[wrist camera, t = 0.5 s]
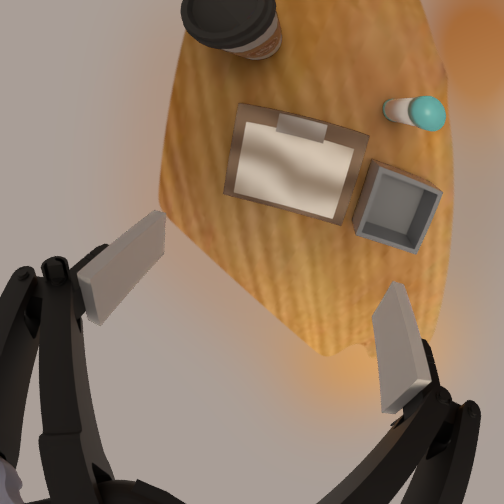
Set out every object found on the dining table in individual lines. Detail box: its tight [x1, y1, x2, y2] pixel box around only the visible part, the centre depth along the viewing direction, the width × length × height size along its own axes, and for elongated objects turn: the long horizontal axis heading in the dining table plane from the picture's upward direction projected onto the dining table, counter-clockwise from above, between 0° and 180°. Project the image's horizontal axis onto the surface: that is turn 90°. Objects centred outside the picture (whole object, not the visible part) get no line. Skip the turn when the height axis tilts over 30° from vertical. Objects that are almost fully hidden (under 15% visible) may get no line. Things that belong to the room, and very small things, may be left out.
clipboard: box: [223, 103, 369, 226], centre depth 35 cm, size 13×17×2 cm
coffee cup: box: [181, 0, 282, 60], centre depth 22 cm, size 8×8×15 cm
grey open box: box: [352, 159, 443, 254], centre depth 33 cm, size 9×9×5 cm
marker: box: [383, 96, 446, 131], centre depth 23 cm, size 3×3×13 cm
